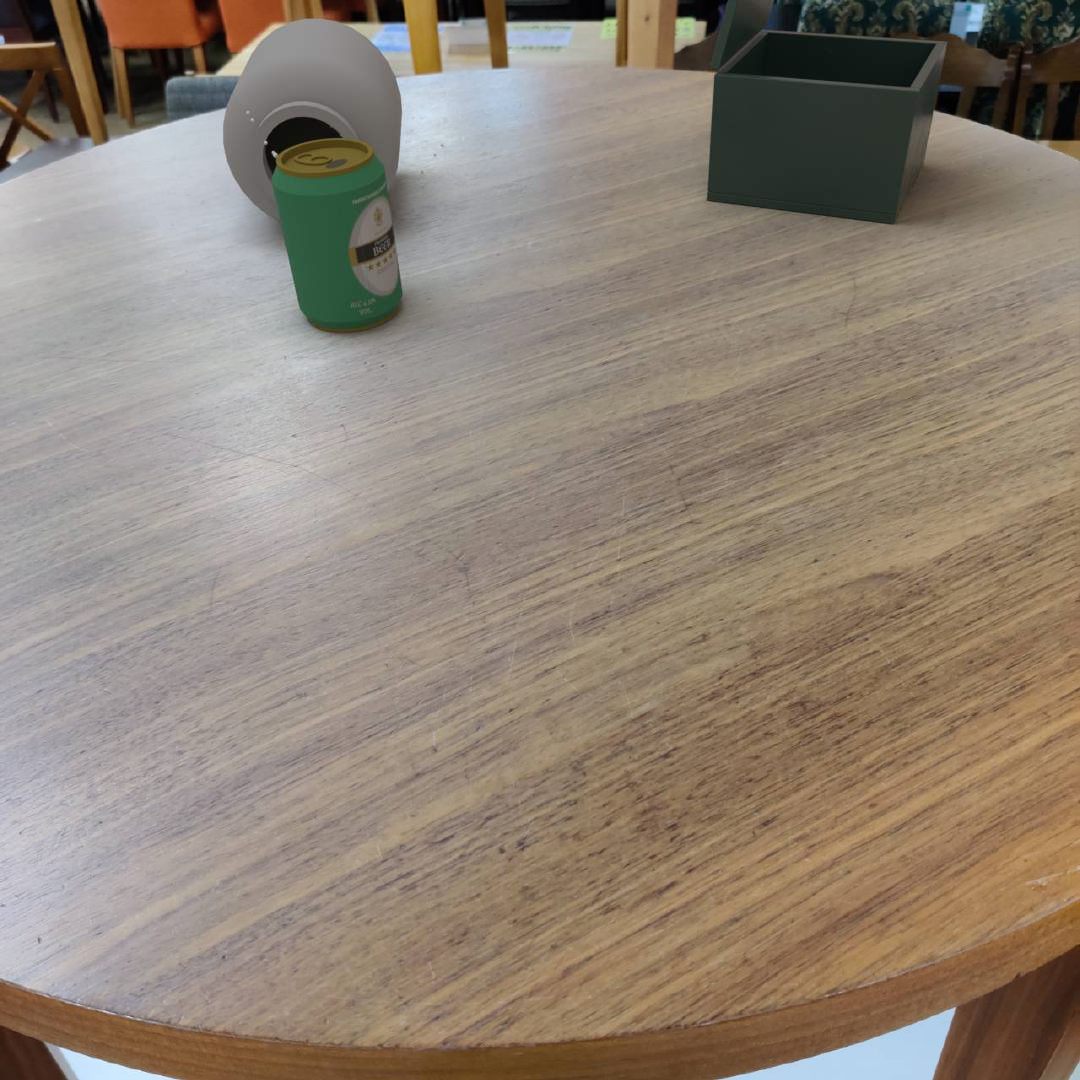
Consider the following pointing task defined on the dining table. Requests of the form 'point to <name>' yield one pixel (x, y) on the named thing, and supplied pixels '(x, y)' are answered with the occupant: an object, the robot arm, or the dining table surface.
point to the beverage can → (338, 233)
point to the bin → (823, 123)
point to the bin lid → (739, 27)
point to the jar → (309, 102)
